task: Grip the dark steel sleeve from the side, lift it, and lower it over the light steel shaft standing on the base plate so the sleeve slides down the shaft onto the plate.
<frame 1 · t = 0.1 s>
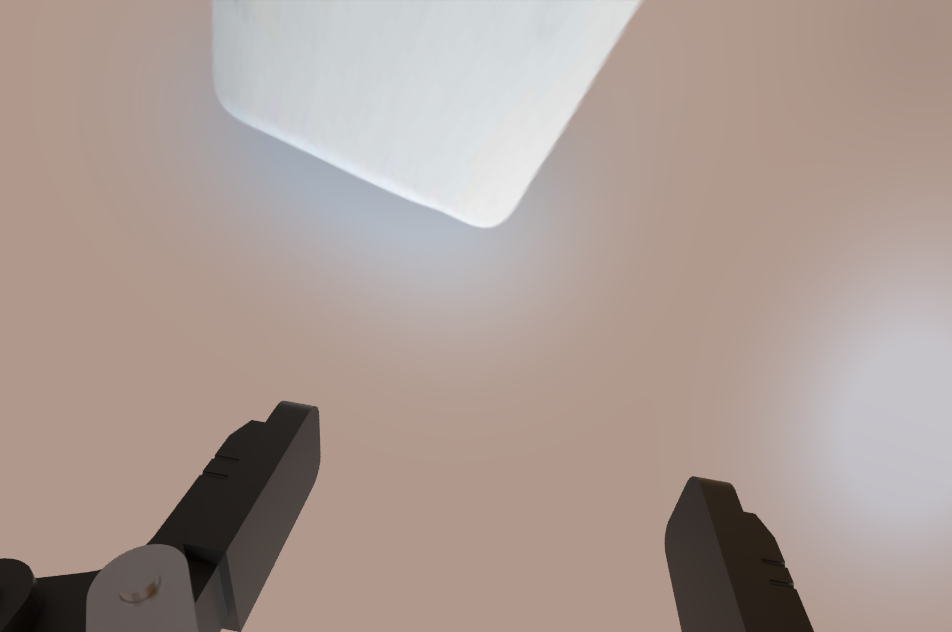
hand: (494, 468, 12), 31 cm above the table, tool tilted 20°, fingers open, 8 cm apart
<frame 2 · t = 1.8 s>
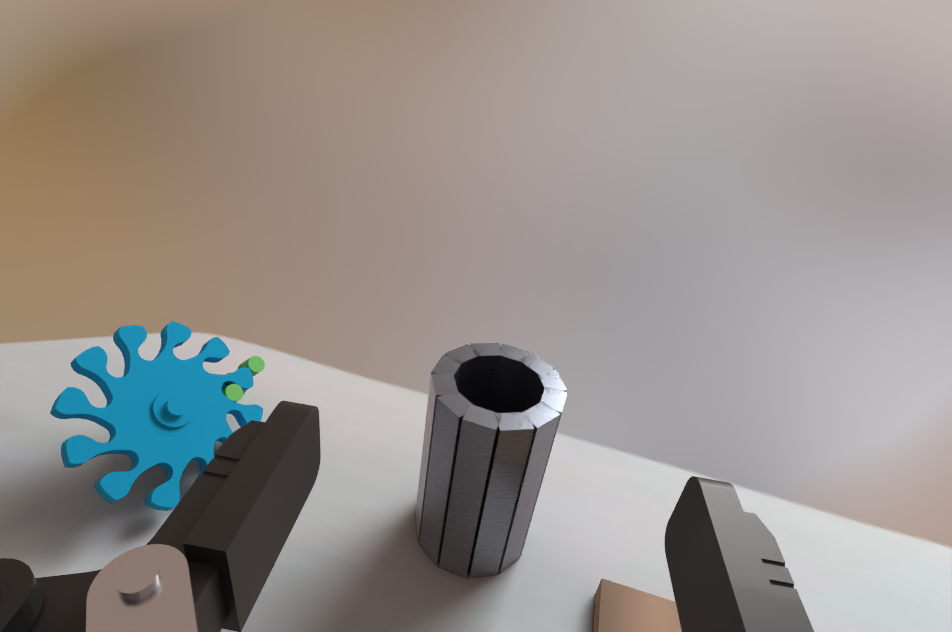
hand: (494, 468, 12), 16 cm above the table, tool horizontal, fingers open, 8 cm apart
sleeve: (471, 524, 29), on the table
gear: (189, 457, 31), on the table
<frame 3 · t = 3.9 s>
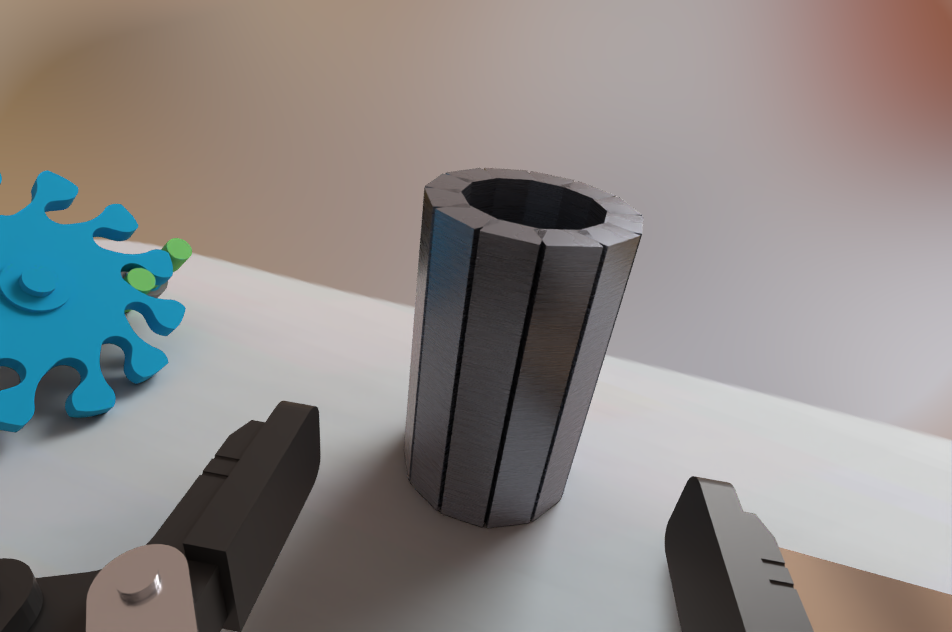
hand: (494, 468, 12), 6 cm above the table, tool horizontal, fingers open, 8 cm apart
sleeve: (486, 457, 20), on the table
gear: (76, 372, 22), on the table
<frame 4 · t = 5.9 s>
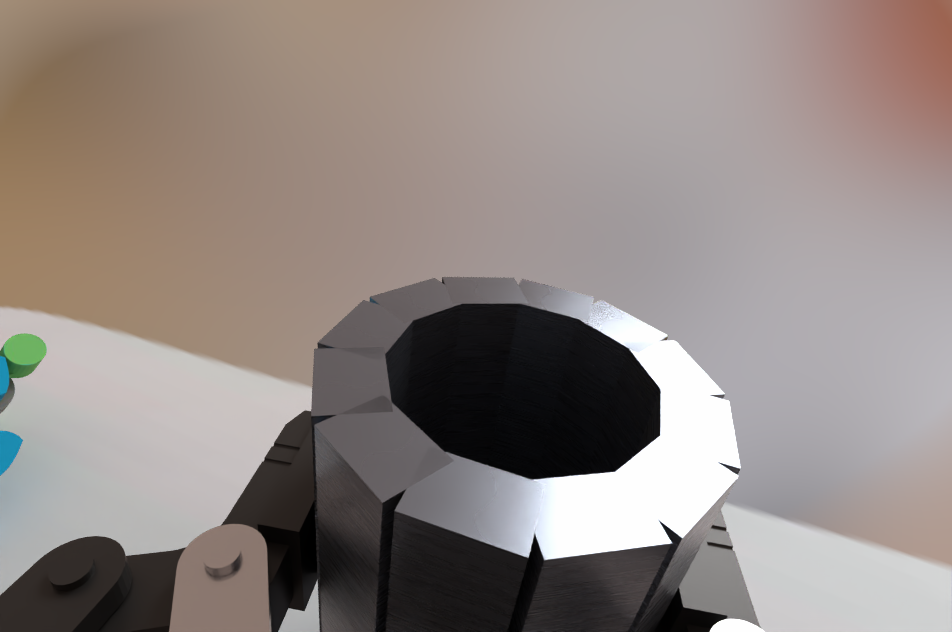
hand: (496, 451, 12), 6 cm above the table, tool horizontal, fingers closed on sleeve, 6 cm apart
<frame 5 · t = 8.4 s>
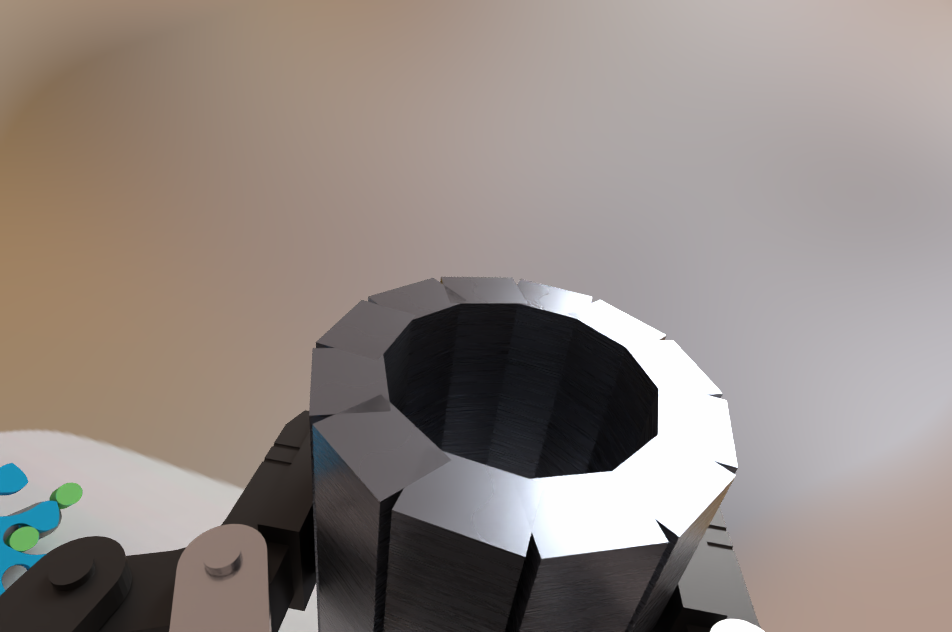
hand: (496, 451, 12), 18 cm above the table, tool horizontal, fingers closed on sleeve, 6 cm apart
when the fingers open (9 cm above the table, at t = 11.2 s): sleeve drops 1 cm, resting on base plate.
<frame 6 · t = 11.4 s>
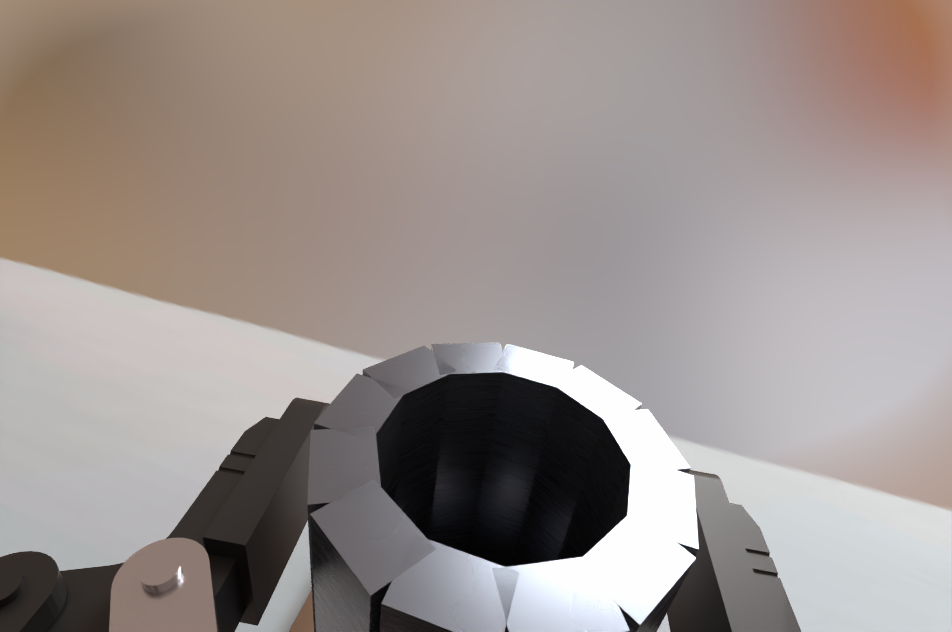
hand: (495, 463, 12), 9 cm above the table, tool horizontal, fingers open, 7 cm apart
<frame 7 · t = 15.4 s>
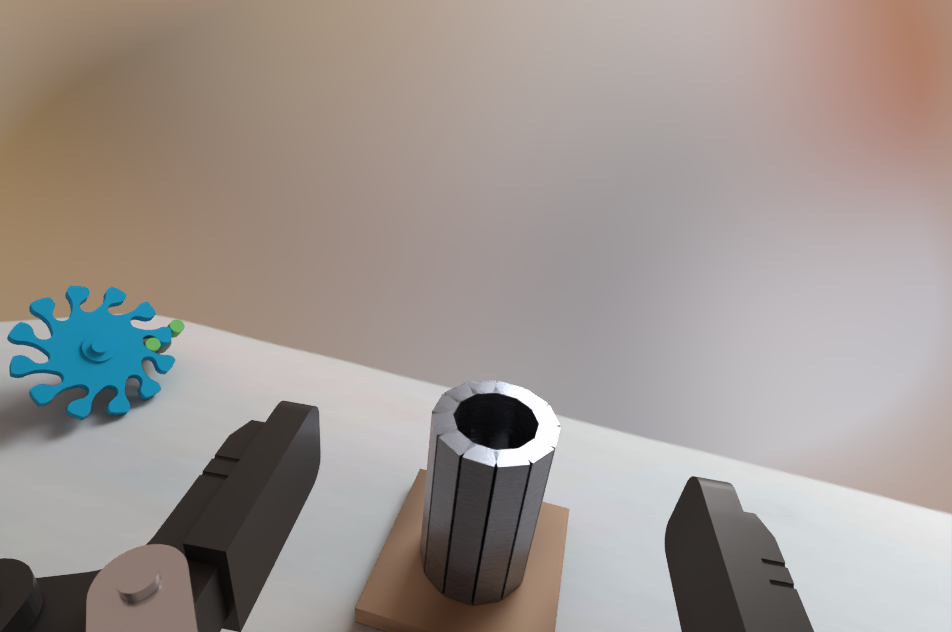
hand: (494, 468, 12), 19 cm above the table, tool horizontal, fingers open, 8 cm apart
sleeve: (473, 553, 31), point 1 cm above the table, touching base plate
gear: (117, 390, 41), on the table
base plate: (472, 565, 31), on the table
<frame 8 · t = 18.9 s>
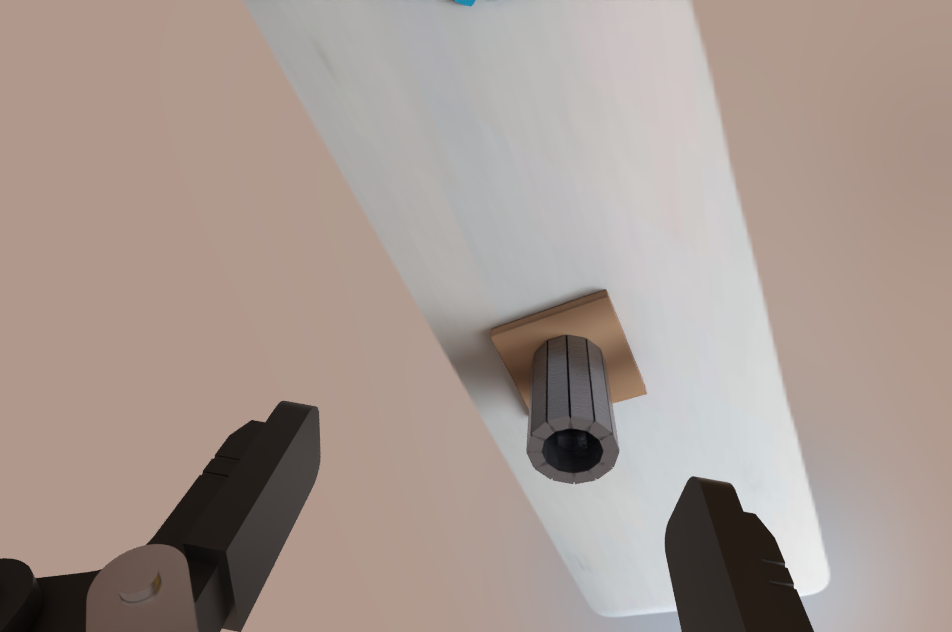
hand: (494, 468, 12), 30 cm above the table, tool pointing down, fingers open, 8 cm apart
sleeve: (568, 365, 45), point 1 cm above the table, touching base plate
base plate: (568, 357, 46), on the table
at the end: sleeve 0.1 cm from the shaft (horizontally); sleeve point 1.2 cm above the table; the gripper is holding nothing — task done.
